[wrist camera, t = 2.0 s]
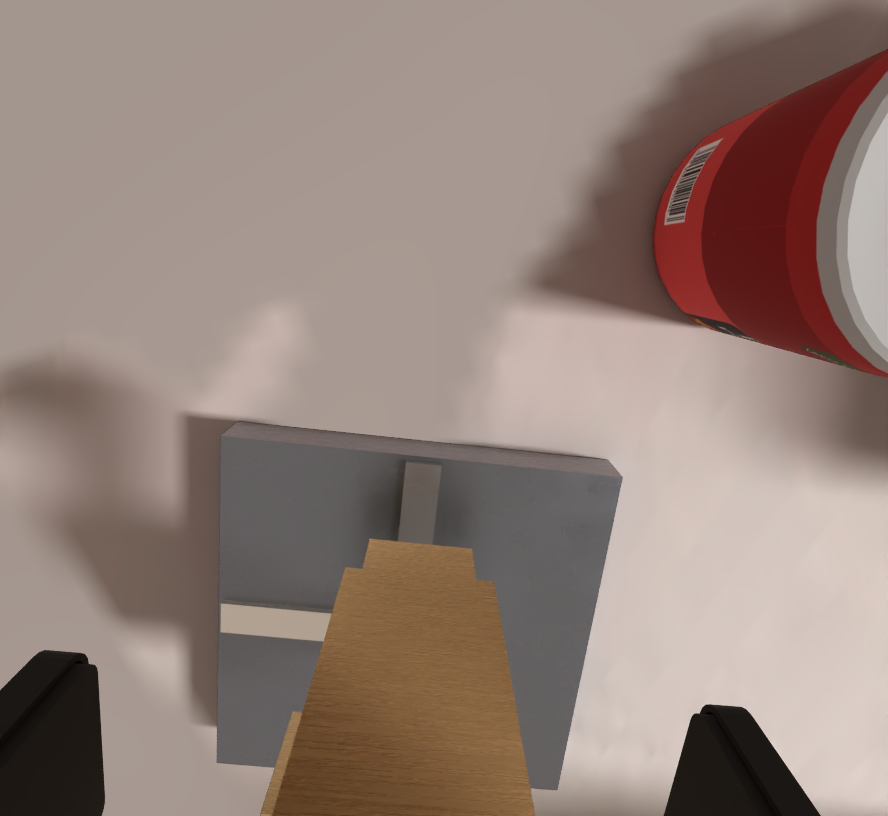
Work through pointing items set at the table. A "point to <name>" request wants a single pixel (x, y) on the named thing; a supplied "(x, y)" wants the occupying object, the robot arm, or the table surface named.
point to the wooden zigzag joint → (407, 698)
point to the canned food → (789, 223)
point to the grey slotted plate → (404, 520)
